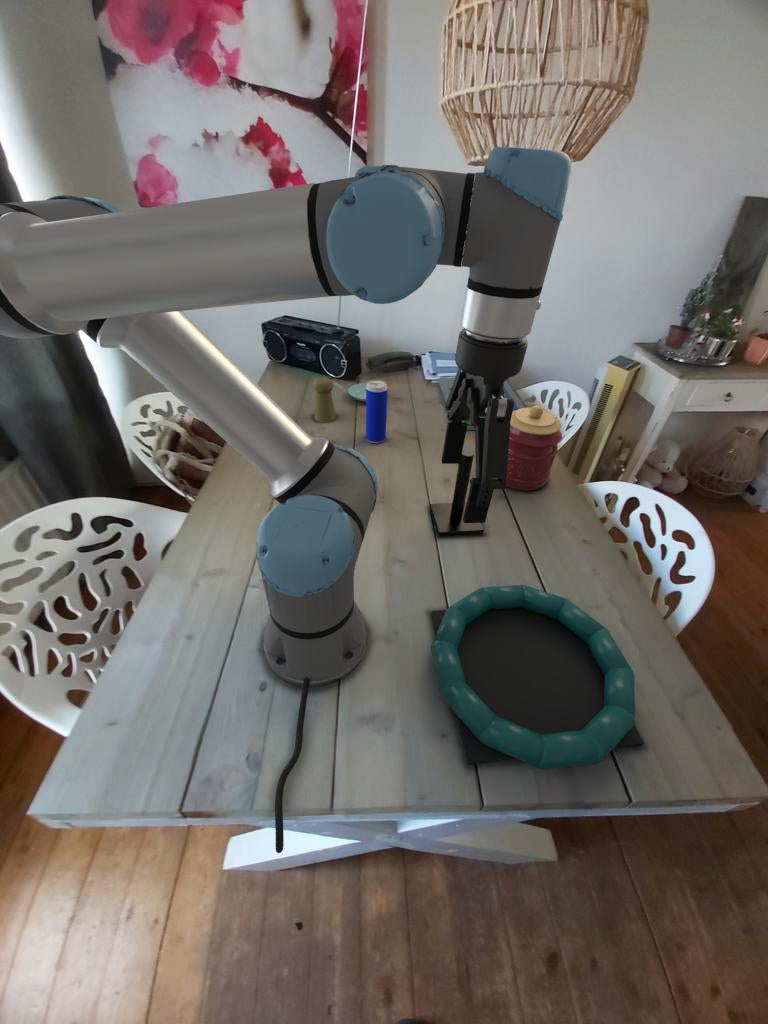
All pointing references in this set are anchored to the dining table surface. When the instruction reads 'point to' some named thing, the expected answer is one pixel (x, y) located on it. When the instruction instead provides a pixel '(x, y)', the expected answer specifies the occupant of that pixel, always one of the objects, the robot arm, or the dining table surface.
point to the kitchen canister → (531, 447)
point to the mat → (529, 676)
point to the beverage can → (376, 411)
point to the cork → (323, 400)
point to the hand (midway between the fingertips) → (461, 489)
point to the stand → (456, 505)
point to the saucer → (358, 391)
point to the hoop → (514, 738)
